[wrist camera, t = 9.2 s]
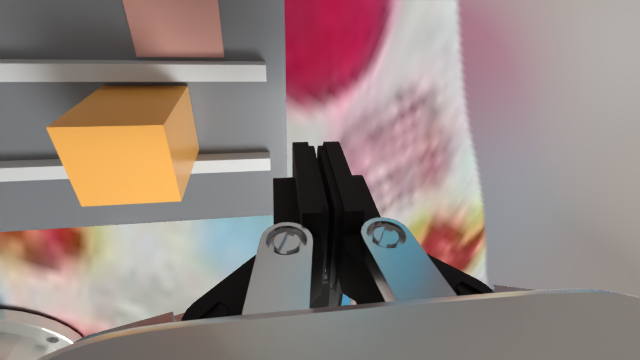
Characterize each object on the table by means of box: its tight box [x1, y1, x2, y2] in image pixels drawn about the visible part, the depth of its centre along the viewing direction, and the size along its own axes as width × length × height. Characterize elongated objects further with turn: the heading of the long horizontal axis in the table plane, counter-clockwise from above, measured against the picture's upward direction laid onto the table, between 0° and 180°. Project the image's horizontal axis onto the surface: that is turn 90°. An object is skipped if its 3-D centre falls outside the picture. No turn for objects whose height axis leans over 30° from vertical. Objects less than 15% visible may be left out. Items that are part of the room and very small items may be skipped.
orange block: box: [46, 86, 199, 207], centre depth 15 cm, size 4×4×5 cm
